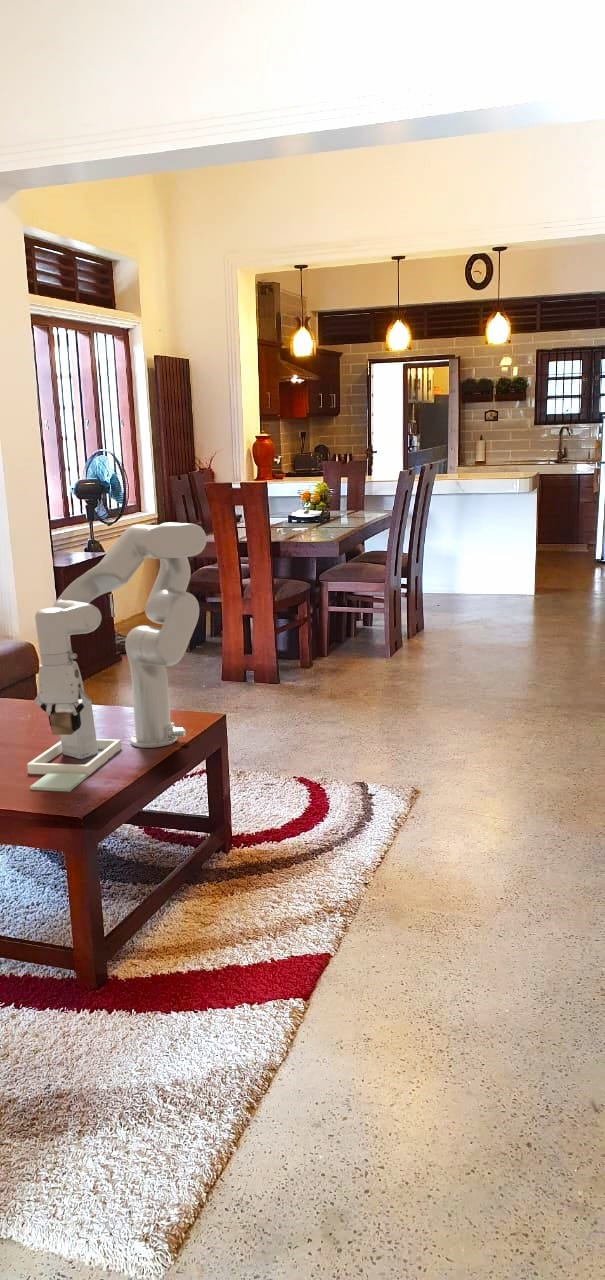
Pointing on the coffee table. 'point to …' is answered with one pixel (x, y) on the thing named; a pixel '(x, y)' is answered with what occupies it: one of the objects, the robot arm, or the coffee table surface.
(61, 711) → the walnut block
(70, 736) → the skincare box
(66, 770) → the cream rectangular frame
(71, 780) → the tile
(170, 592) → the robot arm
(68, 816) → the coffee table surface
